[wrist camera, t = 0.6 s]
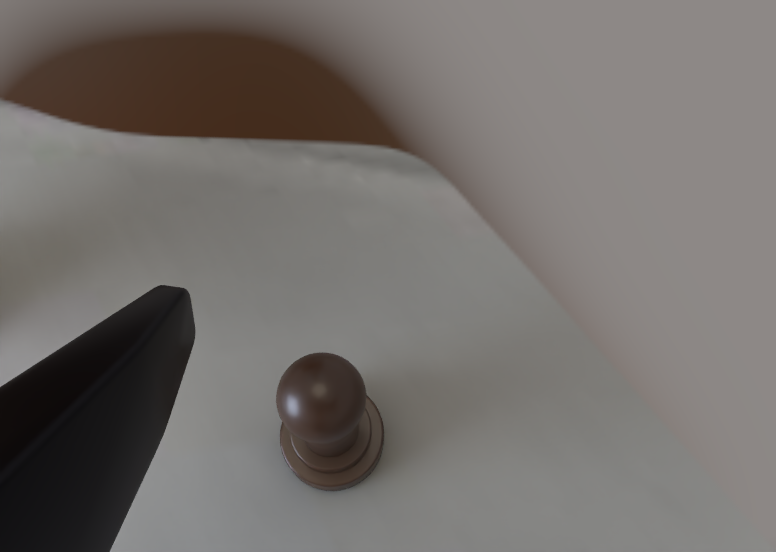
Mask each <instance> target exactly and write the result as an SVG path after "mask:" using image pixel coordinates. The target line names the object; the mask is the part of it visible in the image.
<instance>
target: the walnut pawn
mask: <svg viewBox="0 0 776 552" xmlns="http://www.w3.org/2000/svg"><path fill="white" fill-rule="evenodd" d="M276 403H277V409H278V412H279V416H280V418H281V420H282V425H281V430H280V444H281V449H282V453H283V455H284V458H285V460H286V462H287V463H288V465H289V467H290V468H291V470H292V471H293V472H294V473H295V475H296V476H297V477H298V478H299V479H301V480H302V481H303V482H305V483H306V484H308V485H310V486H312V487H314V488H317V489H321V490H326V491H337V490H343V489H347V488H350V487H352V486H354V485H356V484H358V483H360V482H361V481H362V480H364V479H365V478H366V477H367V476H368V475H369V474H370V473H371V472H372V471H373V469H374V468H375V466H376V465H377V463H378V461H379V459H380V456H381V453H382V449H383V441H384V429H383V422H382V418H381V415H380V413H379V411H378V409H377V407H376V406H375V404H374V403H373V401H372V400H371V399H370V398H369V397H368V396H367V395H366V389H365V385H364V382H363V379H362V377H361V375H360V373H359V372H358V370H357V369H356V368H355V367H354V366H353V365H352V364H351V363H350V362H349V361H347V360H346V359H344V358H342V357H340V356H338V355H335V354H331V353H314V354H309V355H306V356H304V357H302V358H300V359H298V360H297V361H295V362H294V363H293V364H292V365H291V366H290V367H289V368H288V369H287V370H286V371H285V373H284V374H283V376H282V378H281V380H280V382H279V385H278V389H277V395H276Z"/></svg>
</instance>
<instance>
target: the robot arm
mask: <svg viewBox="0 0 776 552" xmlns="http://www.w3.org/2000/svg"><path fill="white" fill-rule="evenodd" d="M194 340H195V324H194V317H193V311H192V305H191V298H190V294H189V292H188V291H187V290H186V289H184V288H180V287H173V286H166V285H160V286H157V287H155V288H153V289H152V290H150V291H149V292H147V293H146V294H144V295H142V296H141V297H139V298H138V299H136V300H135V301H133V302H132V303H130V304H128V305H127V306H125V307H124V308H122V309H121V310H119V311H118V312H116V313H115V314H113V315H111V316H110V317H108V318H107V319H105V320H104V321H102V322H101V323H99V324H97V325H96V326H94V327H93V328H91V329H90V330H88V331H87V332H85V333H83V334H82V335H80V336H79V337H77V338H76V339H74V340H73V341H71V342H70V343H68V344H66V345H65V346H63V347H62V348H60V349H59V350H57V351H56V352H54V353H52V354H51V355H49V356H48V357H46V358H45V359H43V360H42V361H40V362H39V363H37V364H35V365H34V366H32V367H31V368H29V369H28V370H26V371H25V372H23V373H21V374H20V375H18V376H17V377H15V378H14V379H12V380H11V381H9V382H7V383H6V384H4V385H3V386H1V387H0V552H110V550H111V547H112V545H113V543H114V541H115V539H116V537H117V535H118V532H119V530H120V528H121V526H122V524H123V522H124V519H125V517H126V515H127V513H128V511H129V509H130V507H131V504H132V502H133V500H134V498H135V496H136V494H137V491H138V489H139V487H140V485H141V483H142V481H143V479H144V476H145V474H146V472H147V470H148V468H149V466H150V464H151V461H152V459H153V457H154V455H155V453H156V451H157V448H158V446H159V444H160V441H161V439H162V437H163V434H164V432H165V429H166V426H167V423H168V421H169V418H170V415H171V411H172V408H173V405H174V402H175V399H176V396H177V393H178V390H179V387H180V384H181V381H182V378H183V375H184V372H185V369H186V366H187V363H188V360H189V357H190V354H191V350H192V347H193V344H194Z"/></svg>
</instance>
